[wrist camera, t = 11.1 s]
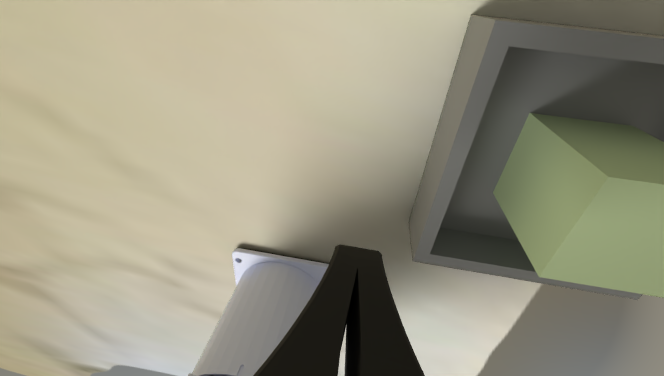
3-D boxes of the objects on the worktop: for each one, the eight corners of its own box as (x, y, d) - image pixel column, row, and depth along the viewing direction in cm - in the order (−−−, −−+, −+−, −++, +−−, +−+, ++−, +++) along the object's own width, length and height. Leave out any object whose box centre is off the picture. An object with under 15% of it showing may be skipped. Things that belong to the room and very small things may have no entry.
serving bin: (598, 253, 19) (637, 299, 16) (408, 222, 20) (412, 261, 17) (766, 47, 12) (883, 63, 9) (471, 14, 13) (495, 20, 10)
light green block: (579, 205, 16) (664, 297, 11) (492, 192, 17) (539, 276, 12) (633, 125, 14) (773, 199, 9) (529, 113, 14) (608, 176, 9)
